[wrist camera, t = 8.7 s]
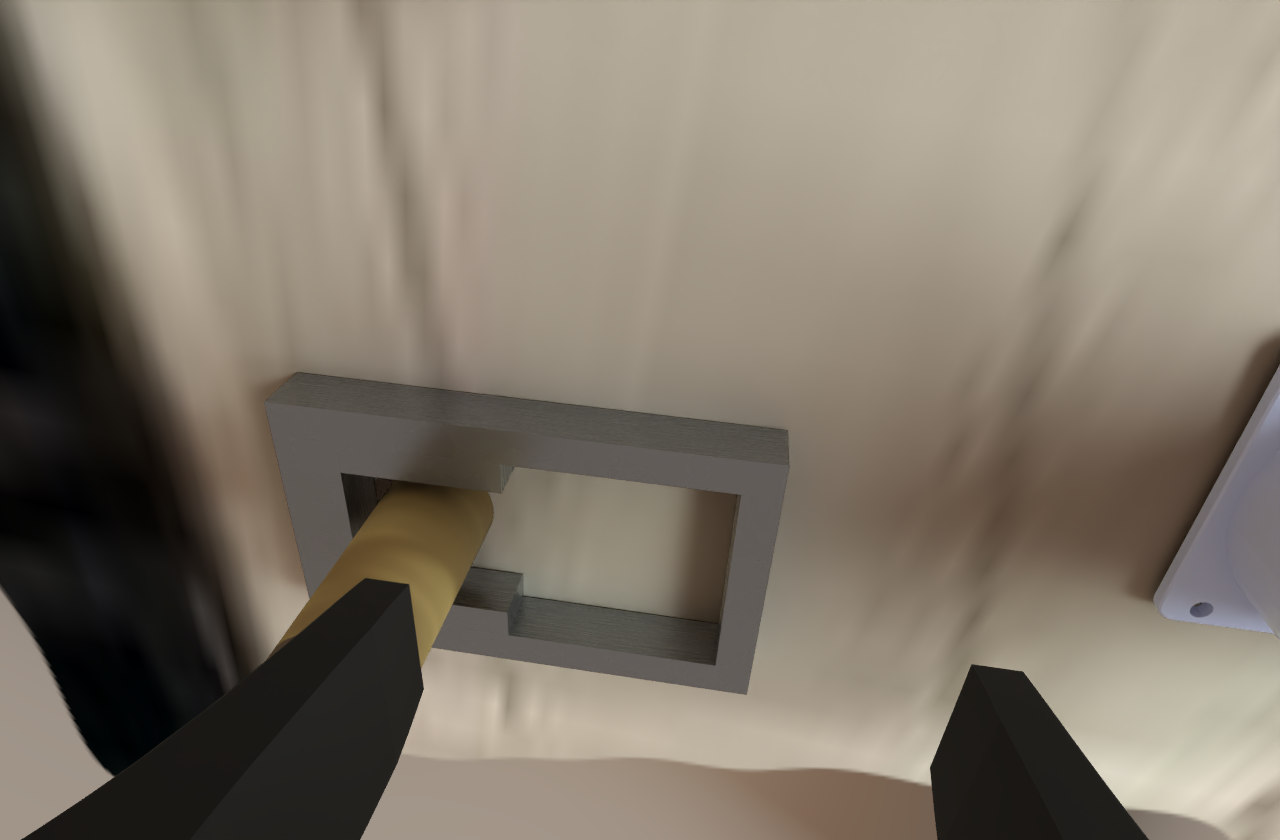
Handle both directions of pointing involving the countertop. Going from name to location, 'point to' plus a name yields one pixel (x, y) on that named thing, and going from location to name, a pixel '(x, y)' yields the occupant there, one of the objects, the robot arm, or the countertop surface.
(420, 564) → the peg
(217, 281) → the countertop surface
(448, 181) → the countertop surface
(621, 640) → the keyhole plate
